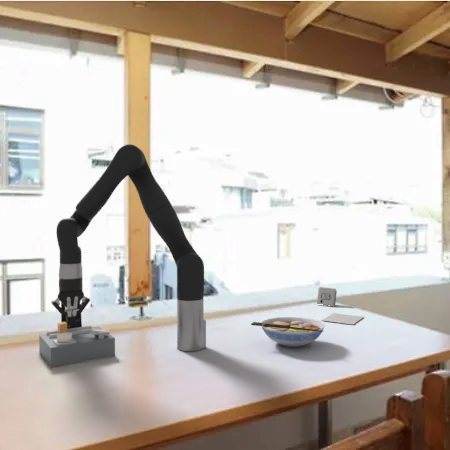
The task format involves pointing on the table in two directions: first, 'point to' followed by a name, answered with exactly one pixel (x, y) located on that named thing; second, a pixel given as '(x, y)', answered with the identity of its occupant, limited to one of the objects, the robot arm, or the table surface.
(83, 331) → the console
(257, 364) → the table surface
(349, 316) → the paper stack
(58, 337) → the push button
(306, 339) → the ramen bowl
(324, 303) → the electrical switch
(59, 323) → the slider knob
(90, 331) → the rocker switch
